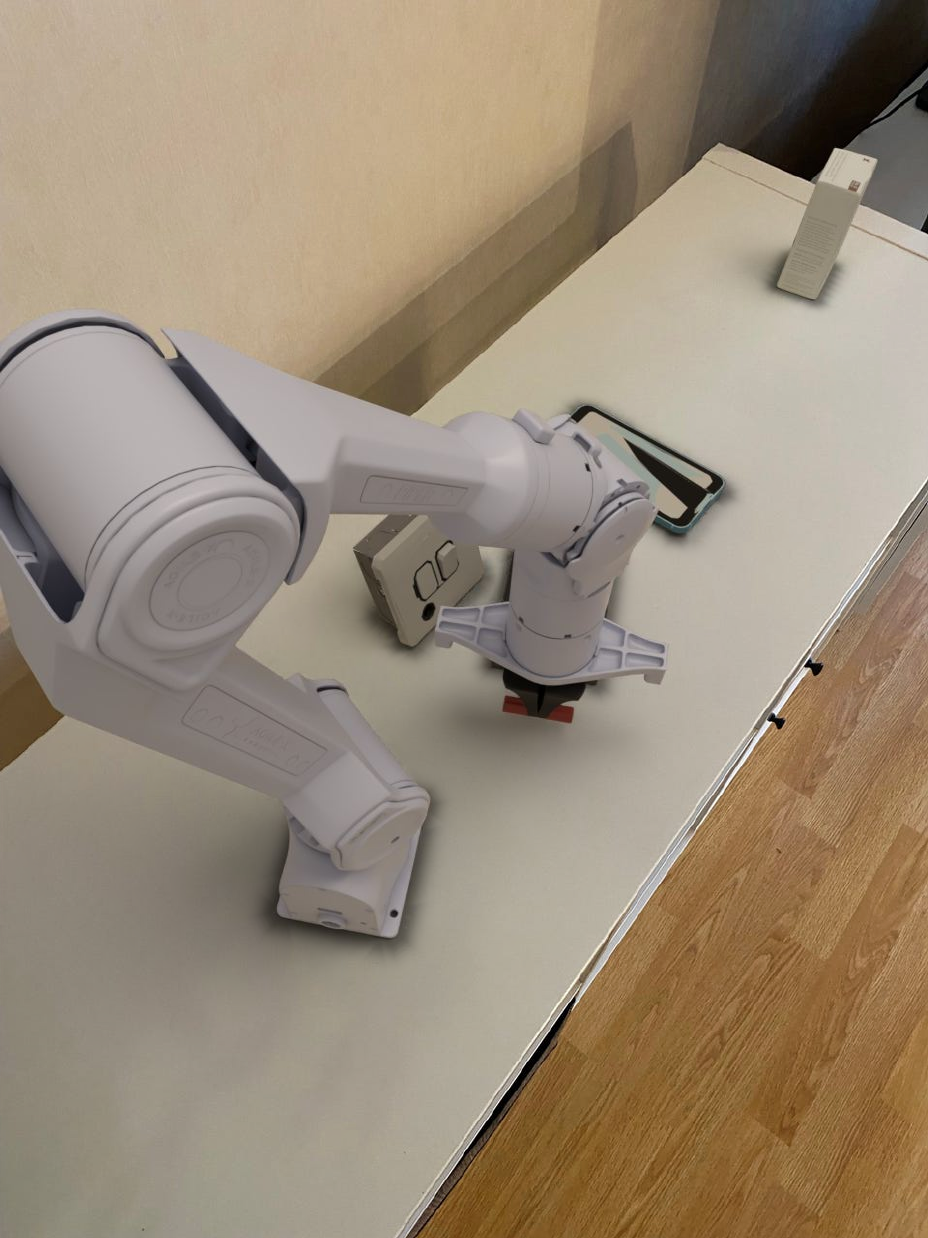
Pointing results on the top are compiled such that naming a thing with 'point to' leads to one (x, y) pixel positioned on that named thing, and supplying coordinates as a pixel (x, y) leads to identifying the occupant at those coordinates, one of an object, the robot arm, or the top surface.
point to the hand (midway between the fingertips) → (539, 705)
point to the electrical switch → (415, 572)
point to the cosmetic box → (826, 222)
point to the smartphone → (656, 469)
